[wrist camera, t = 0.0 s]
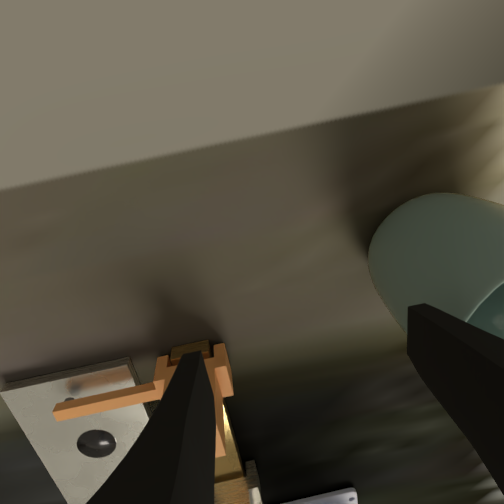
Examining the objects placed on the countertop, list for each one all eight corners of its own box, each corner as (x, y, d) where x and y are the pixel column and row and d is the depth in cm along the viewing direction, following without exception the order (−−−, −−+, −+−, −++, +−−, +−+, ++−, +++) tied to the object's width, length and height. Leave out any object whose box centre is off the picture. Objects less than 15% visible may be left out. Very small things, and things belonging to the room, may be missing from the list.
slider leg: (231, 370, 25) (239, 452, 19) (72, 405, 25) (33, 499, 19) (224, 342, 24) (230, 420, 18) (59, 378, 24) (12, 469, 18)
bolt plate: (184, 495, 30) (184, 506, 29) (86, 517, 30) (83, 529, 29) (129, 356, 24) (126, 365, 23) (6, 383, 24) (-1, 393, 23)
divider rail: (259, 478, 30) (272, 572, 24) (128, 508, 30) (109, 612, 24) (223, 336, 24) (228, 416, 18) (58, 371, 24) (10, 464, 18)
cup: (325, 251, 23) (406, 359, 13) (421, 150, 21) (591, 197, 12) (403, 315, 25) (515, 441, 16) (494, 231, 23) (679, 320, 14)
